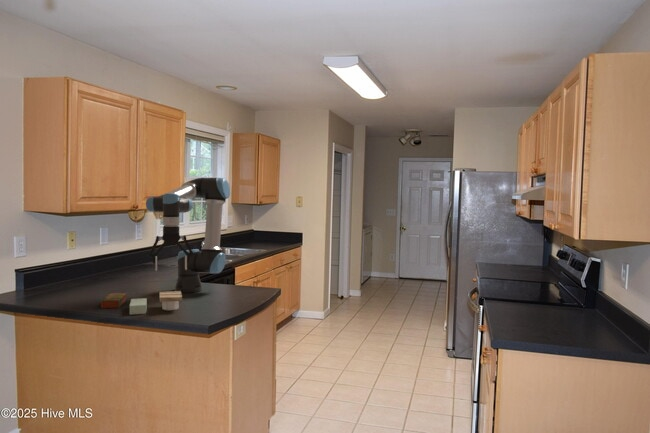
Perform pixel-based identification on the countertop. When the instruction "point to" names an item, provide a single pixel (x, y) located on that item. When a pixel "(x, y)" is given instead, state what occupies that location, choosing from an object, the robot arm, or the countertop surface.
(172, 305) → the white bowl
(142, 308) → the green stand
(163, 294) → the maple board
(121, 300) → the carton
